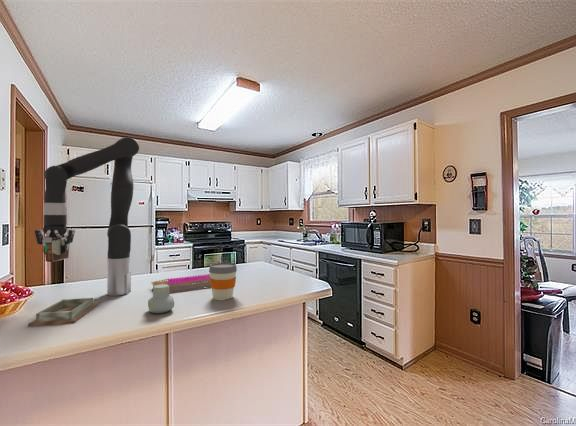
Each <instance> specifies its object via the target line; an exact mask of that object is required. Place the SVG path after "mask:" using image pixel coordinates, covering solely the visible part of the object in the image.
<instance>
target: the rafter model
mask: <svg viewBox="0 0 576 426" xmlns="http://www.w3.org/2000/svg"><path fill="white" fill-rule="evenodd" d="M207 281H209V282H207ZM192 283H193V284H192ZM194 283H195V284H194ZM150 284H151V285H152V288H153V287H154V286H156V285H161V284H166V285H169V294H171V293H178V292H179V293H180V292H186V291H185V290H187V291H193V290H192V289H194V290H199V289H198V288H202V289H205V288H204V287H209V288H211V285H210V273H209V274H200V275H199V274H198V275H193V276H191V275H190V276H181V277H174V278H172V277H171V278H165V279H161V280H155V281H152V282H151V283H150ZM186 284H187V285H186ZM177 285H179V286H177ZM170 286H171V287H170Z"/></svg>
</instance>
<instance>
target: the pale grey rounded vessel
mask: <svg viewBox="0 0 576 426" xmlns="http://www.w3.org/2000/svg"><path fill="white" fill-rule="evenodd" d="M152 290H153V291H152V297H150V298H149V299H148V301H147V306H148V307H147V308H148V310H149V312H150V313H153V314H164V313H166V312H169V311H172V309H174V307H175V299H174V297H173V296H172V295H170V293H169V285H166V284H161V285H156V286H154V287H153V286H152Z"/></svg>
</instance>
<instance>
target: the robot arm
mask: <svg viewBox="0 0 576 426" xmlns="http://www.w3.org/2000/svg"><path fill="white" fill-rule="evenodd" d="M139 151H140V145H139V142H138V141H137V140H136V139H135V138H132V137H128V136H127V137H122V138H120V139H118V140H117V141H116V142H115V143H113V144H111V145H109V146H107V147H104V148H101V149H98V150H95V151H92V152H89V153H85V154H83V155H80V156H77V157H74V158H72V159H70V160H68V161H66V162H64V163H60V164H58V165H51V166H49V167H47V168H46V169H45V170H44V172H43V176H44V179H45V191H44V200H43V201H44V202H43V203H44V204H43V212H42V213H43V228H42V229H36V230H34V234H35V239H36V243H37V244H38V245H42V246H43V247H42V248H43V249H42V251H43V252H42V253H43V254H45V246H44V242H42V240H43V238H44V237H52V238H59V241H60V242H61V254H65V253H66V252H67V245H68V244H70V245H71V244H72V243H73V241H74V237H75V233H76V230H75V229H73V228H72V229H68V227H67V222H68V221H67V220H68V219H67V215H68V214H67V213H68V212H67V211H68V210H67V208H68V207H67V195H66V194H67V193H66V189H67V182H68V180H69V179H71V178H73V177H76V176H80V175H82V174H86V173H88V172H90V171H93V170H95V169H97V168H99V167H101V166H103V165H105V164H107V163H108V164H109V163H111V162H113V161H114V169H113V174H112V180H111V181H112V182H111V191H110V218H109V224H108V228H107V235H106V236H107V238H108V239H107V245H108V246H107V258H106V259H107V263H106V264H107V267H106V268H107V270H106V271H107V274H106V279H107V280H106V282H107V283H106V285H107V286H106V288H107V289H106V295H107V296H111V297H115V296H116V297H117V296H122V295H128V294H129V293H130V292H131V291H132V272H131V271H130V269H131V268H130V265H131V258H130V257H131V255H130V254H131V249H132V247H131V245H132V243H131V242H132V232H131V230H130V228H129V225H128V224H129V212H130V209H131V206H132V203H133V196H134V187H135V186H134V185H135V184H134V179H133V174H132V163H133V157H134V156H136V155H137V154H138V153H139ZM66 233H67V234H66ZM44 234H45V236H44ZM65 235H68V237H67V240H66V237H65ZM62 237H63V238H62Z"/></svg>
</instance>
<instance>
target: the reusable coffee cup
mask: <svg viewBox="0 0 576 426" xmlns="http://www.w3.org/2000/svg"><path fill="white" fill-rule="evenodd" d="M208 272H209V274H210V285H211V287H210V288H211V293H212V299H213V298H214V299H213V300H215V299H219V300H218V301H223V300H222V299H228V300H230V299H229V298H231V297H232V298H233V296H234V289H235V286H236V280H237V276H236V275H237V274H236V273H237V264H236V263H233V262H217V263H211V264H209V271H208ZM232 298H231V299H232Z"/></svg>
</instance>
